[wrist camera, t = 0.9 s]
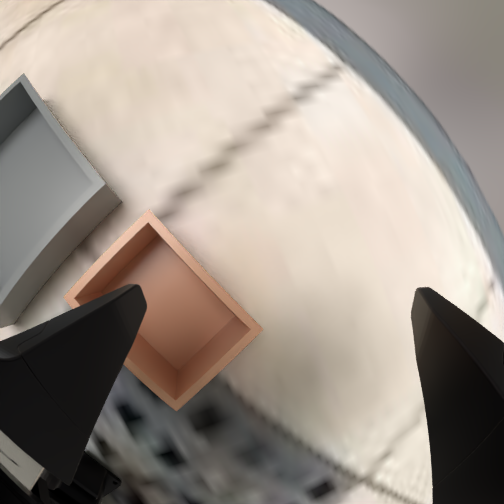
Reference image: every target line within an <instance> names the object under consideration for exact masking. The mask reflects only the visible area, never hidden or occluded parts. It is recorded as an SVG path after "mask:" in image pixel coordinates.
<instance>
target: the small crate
mask: <svg viewBox="0 0 504 504" xmlns="http://www.w3.org/2000/svg"><path fill="white" fill-rule="evenodd" d="M127 284H138V285H140V286H141V288H142V291H143V294H144V296H145V299H146V302H147V311H146V313H145V316H144V318H143V320H142V323H141V326H140V328H139V331H138V333H137V336H136V338H135V341H134V343H133V345H132V347H131V349H130V351H129V353H128V355H127V357H126V359H125V362H124V365H125V366H126V367H127V368H128V369H129V370H130V371H131V372H132V373H133V374H134V375H135V376H136V377H137V378H138V379H139V380H141V381H142V382H143V383H144V384H145V385H146V386H147V387H148V388H149V389H150V390H152V391H153V392H154V393H155V394H156V395H157V396H158V397H160V398H161V399H162V400H163V401H164V402H166V403H167V404H168V405H169V406H170V407H172V408H173V409H174V410H175V411H177V410H178V409H180V408H181V407H182V406H183V405H184V404H185V403H186V402H187V401H189V400H190V399H191V398H192V397H193V396H194V395H195V394H196V393H197V392H199V391H200V390H201V389H202V388H203V387H204V386H205V385H206V384H207V383H208V382H209V381H210V380H212V379H213V378H214V377H215V376H216V375H217V374H218V373H219V372H220V371H221V370H222V369H223V368H224V367H225V366H226V365H227V364H228V363H230V362H231V361H232V360H233V359H234V358H235V357H236V356H237V355H238V354H239V353H240V352H241V351H242V350H243V349H244V348H245V347H246V346H247V345H248V344H249V343H250V342H251V341H252V340H253V339H254V338H255V337H256V336H257V335H258V334H259V333H260V332H261V331H262V330H263V328H262V327H261V326H260V325H259V324H258V323H257V322H256V321H255V320H254V319H253V318H252V317H251V316H250V315H249V314H248V313H247V312H246V311H245V310H244V309H243V308H242V307H241V306H240V305H239V304H238V303H237V302H236V301H235V300H234V299H233V298H232V297H231V296H230V295H229V294H228V293H227V292H226V291H225V290H224V289H223V288H222V287H221V286H220V285H219V284H218V283H217V282H216V281H215V280H214V279H213V278H212V277H211V276H210V275H209V274H208V272H207V271H206V270H205V269H204V268H203V267H202V266H201V265H200V264H199V263H198V262H197V261H196V260H195V259H194V258H193V257H192V256H191V254H190V253H189V252H188V251H187V250H186V249H185V248H184V247H183V246H182V245H181V244H180V243H179V242H178V240H177V239H176V238H175V237H174V236H173V235H172V234H171V233H170V232H169V231H168V230H167V228H166V227H165V226H164V225H163V224H162V223H161V222H160V221H159V220H158V218H157V217H156V216H155V215H154V214H153V213H152V212H151V211H150V210H148V211H146V212H145V213H144V214H143V215H142V216H141V217H140V218H139V219H138V220H137V221H136V222H135V223H134V224H133V225H132V226H131V227H130V228H128V229H127V230H126V231H125V232H124V233H123V234H122V235H121V236H120V237H119V238H118V239H117V240H116V241H115V242H114V243H113V244H112V245H111V246H110V247H109V248H108V249H107V250H106V251H105V252H104V253H103V254H102V255H101V257H100V258H99V259H98V260H97V261H96V262H95V263H94V264H93V265H92V266H91V267H90V268H89V269H88V270H87V271H86V272H85V274H84V275H83V276H82V277H81V278H80V279H79V280H78V281H77V282H76V283H75V285H74V286H73V287H72V288H71V289H70V290H69V291H68V292H67V294H66V295H65V296H64V299H65V300H66V301H67V303H68V304H69V305H70V306H71V307H72V309H74V308H76V307H79V306H81V305H83V304H85V303H87V302H89V301H92V300H94V299H96V298H98V297H100V296H103V295H105V294H107V293H109V292H111V291H114V290H116V289H118V288H120V287H123V286H125V285H127Z"/></svg>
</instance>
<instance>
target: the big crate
mask: <svg viewBox="0 0 504 504" xmlns="http://www.w3.org/2000/svg"><path fill="white" fill-rule="evenodd" d="M121 202H122V201H121V200H120V199H119V197H118V196H117V195H116V194H115V193H114V191H113V190H112V189H111V188H110V187H109V185H108V184H107V183H106V182H105V181H104V179H103V178H102V177H101V176H100V174H99V173H98V172H97V171H96V169H95V168H94V167H93V166H92V165H91V163H90V162H89V161H88V159H87V158H86V157H85V156H84V154H83V153H82V152H81V151H80V149H79V148H78V147H77V145H76V144H75V143H74V142H73V140H72V139H71V138H70V136H69V135H68V134H67V132H66V131H65V130H64V128H63V127H62V126H61V124H60V123H59V122H58V120H57V119H56V118H55V116H54V115H53V113H52V112H51V111H50V109H49V108H48V107H47V105H46V104H45V102H44V101H43V100H42V98H41V97H40V95H39V94H38V93H37V91H36V90H35V88H34V87H33V86H32V84H31V83H30V81H29V80H28V79H27V77H26V76H25V74H24V73H23V74H22V75H21V76H20V77H19V78H18V79H17V80H16V81H15V82H14V83H13V84H11V85H10V86H9V87H8V88H7V89H6V90H5V91H4V92H3V93H2V94H1V95H0V328H3V327H6V326H10V325H13V324H14V323H15V322H16V320H17V319H18V317H19V316H20V315H21V313H22V312H23V311H24V309H25V308H26V307H27V305H28V304H29V303H30V302H31V300H32V299H33V298H34V296H35V295H36V294H37V293H38V291H39V290H40V289H41V288H42V286H43V285H44V284H45V283H46V282H47V280H48V279H49V278H50V277H51V276H52V274H53V273H54V272H55V271H56V270H57V269H58V267H59V266H60V265H61V264H62V263H63V262H64V261H65V259H66V258H67V257H68V256H69V255H70V254H71V253H72V252H73V251H74V249H75V248H76V247H77V246H78V245H79V244H80V243H81V242H82V241H83V240H84V239H85V238H86V237H87V236H88V235H89V234H90V233H91V231H92V230H93V229H94V228H95V227H96V226H97V225H98V224H99V223H100V222H101V221H102V220H103V219H104V218H105V217H106V216H107V215H108V214H109V213H110V212H112V211H113V210H114V209H115V208H116V207H117V206H118V205H119V204H120V203H121Z"/></svg>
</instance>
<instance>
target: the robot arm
mask: <svg viewBox="0 0 504 504" xmlns="http://www.w3.org/2000/svg"><path fill="white" fill-rule="evenodd" d="M146 311H147V302H146V299H145V296H144V294H143V291H142V288H141V286H140V285H138V284H127V285H125V286H123V287H120V288H118V289H116V290H114V291H111V292H109V293H107V294H105V295H103V296H100V297H98V298H96V299H94V300H92V301H89V302H87V303H85V304H83V305H81V306H79V307H76V308H74V309H72V310H70V311H68V312H66V313H63V314H61V315H59V316H57V317H55V318H53V319H51V320H50V321H46V322H44V323H42V324H40V325H38V326H35V327H33V328H31V329H29V330H26V331H24V332H22V333H19V334H17V335H15V336H12V337H10V338H7V339H5V340H2V341H0V504H100V503H101V500H102V498H103V497H104V496H106V495H107V494H109V493H110V492H112V491H113V490H115V489H116V488H118V487H119V486H120V485H121V480H120V479H119V478H117V477H116V476H115V475H113V474H112V473H110V472H109V471H108V470H106V469H105V468H104V467H102V466H101V465H100V464H98V463H97V462H96V461H95V460H93V459H92V458H91V457H90V456H88V455H87V454H86V453H85V452H84V450H85V448H86V445H87V443H88V440H89V439H88V438H90V435H91V433H92V431H93V428H94V426H95V424H96V421H97V419H98V417H99V415H100V412H101V410H102V408H103V406H104V404H105V401H106V399H107V397H108V395H109V393H110V391H111V388H112V386H113V384H114V382H115V380H116V378H117V376H118V374H119V372H120V370H121V368H122V366H123V364H124V362H125V359H126V357H127V355H128V353H129V351H130V349H131V347H132V345H133V343H134V341H135V338H136V336H137V333H138V331H139V328H140V326H141V323H142V320H143V318H144V316H145V313H146ZM411 320H412V327H413V335H414V344H415V353H416V361H417V366H418V371H419V376H420V382H421V387H422V392H423V398H424V404H425V411H426V418H427V425H428V433H429V442H430V453H431V466H432V485H433V488H432V490H433V504H504V342H502V341H501V340H500V339H499V338H497V337H496V336H495V335H494V334H492V333H491V332H490V331H488V330H487V329H486V328H485V327H483V326H482V325H481V324H479V323H478V322H477V321H475V320H474V319H473V318H471V317H470V316H469V315H467V314H466V313H465V312H463V311H462V310H461V309H459V308H458V307H457V306H455V305H454V304H452V303H451V302H450V301H448V300H447V299H445V298H444V297H443V296H441V295H440V294H438V293H437V292H436V291H434V290H433V289H431V288H430V287H419V288H417V289H416V291H415V296H414V301H413V305H412V310H411ZM114 481H116V482H114Z"/></svg>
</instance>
